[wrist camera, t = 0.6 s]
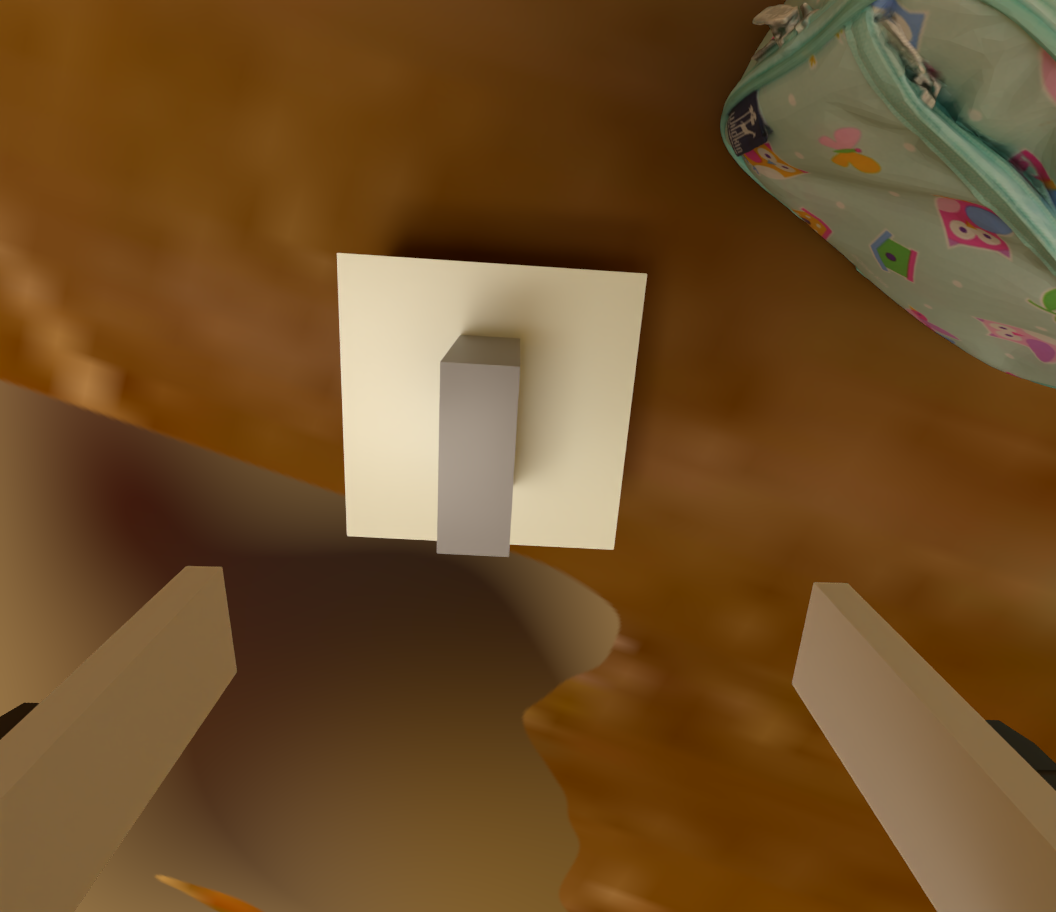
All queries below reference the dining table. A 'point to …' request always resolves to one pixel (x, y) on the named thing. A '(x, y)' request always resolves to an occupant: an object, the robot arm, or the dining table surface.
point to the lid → (485, 401)
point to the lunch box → (919, 156)
